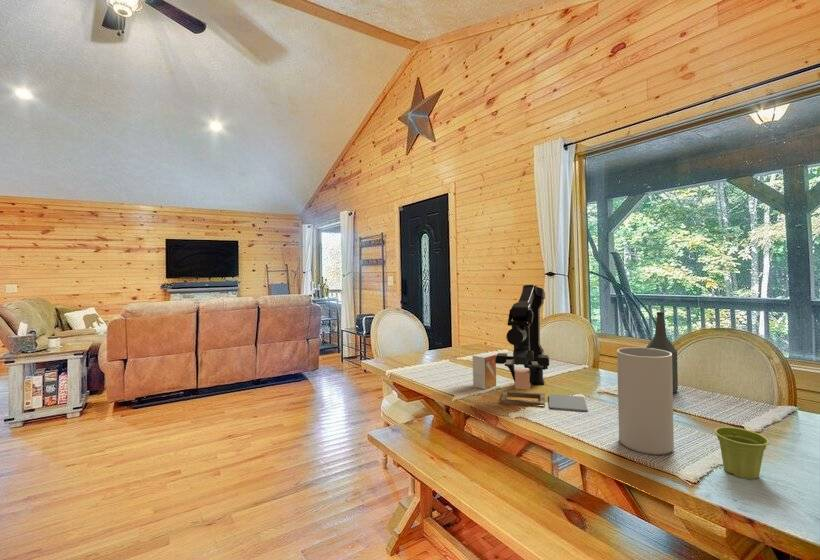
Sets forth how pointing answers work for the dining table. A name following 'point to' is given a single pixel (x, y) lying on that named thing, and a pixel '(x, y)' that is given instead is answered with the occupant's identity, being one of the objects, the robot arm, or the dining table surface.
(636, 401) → the cylinder vase
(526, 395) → the holder
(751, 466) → the plant pot
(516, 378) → the block
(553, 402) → the mat
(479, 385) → the small box
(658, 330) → the bottle
